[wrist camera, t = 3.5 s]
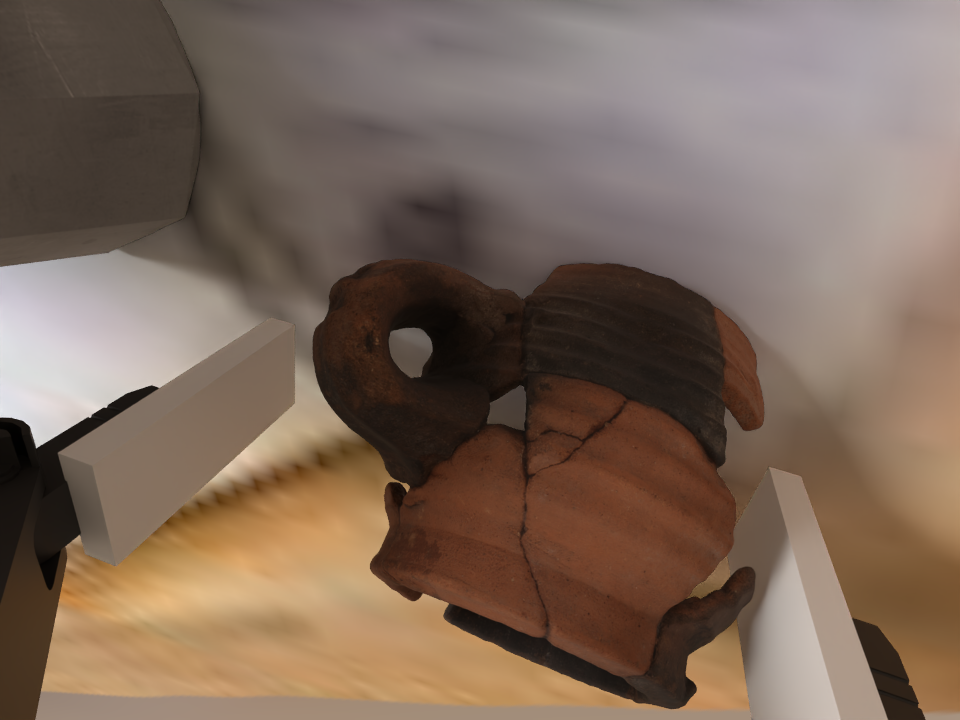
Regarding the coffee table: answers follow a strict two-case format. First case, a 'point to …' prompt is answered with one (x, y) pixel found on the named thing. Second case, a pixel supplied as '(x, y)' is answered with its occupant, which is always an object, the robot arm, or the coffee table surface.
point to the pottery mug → (553, 460)
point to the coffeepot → (92, 126)
